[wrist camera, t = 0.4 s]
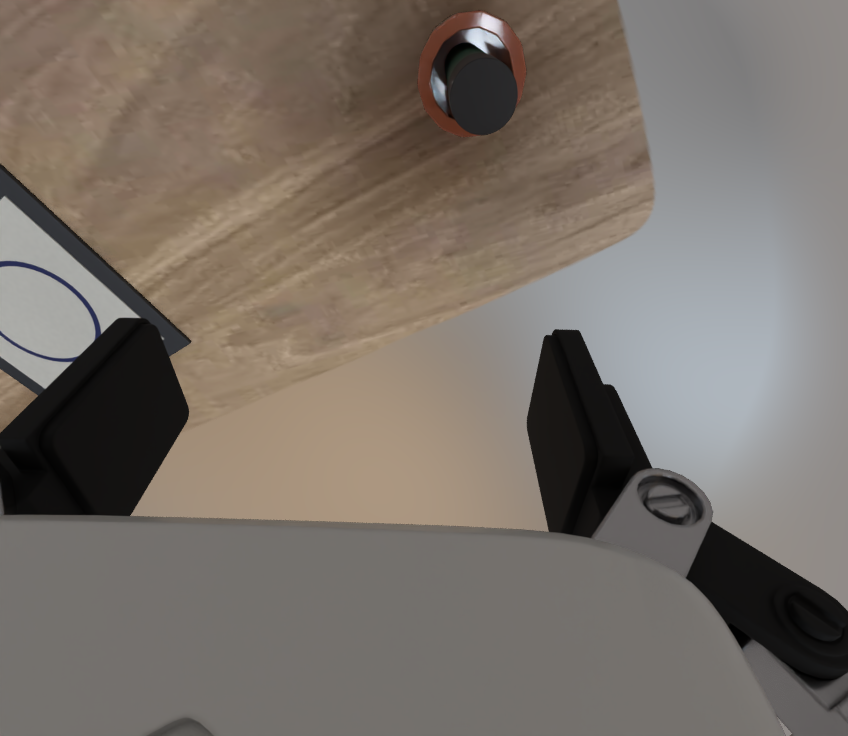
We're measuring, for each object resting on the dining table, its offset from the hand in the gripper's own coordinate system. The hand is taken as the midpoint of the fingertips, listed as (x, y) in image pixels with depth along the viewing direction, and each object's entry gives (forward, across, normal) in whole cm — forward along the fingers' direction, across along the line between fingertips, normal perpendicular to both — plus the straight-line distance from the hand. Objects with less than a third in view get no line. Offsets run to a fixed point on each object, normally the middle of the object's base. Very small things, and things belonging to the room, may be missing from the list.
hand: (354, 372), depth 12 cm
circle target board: (+22, +28, +12) cm, 38 cm away
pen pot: (+22, -3, -5) cm, 23 cm away
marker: (+22, -3, -5) cm, 23 cm away
